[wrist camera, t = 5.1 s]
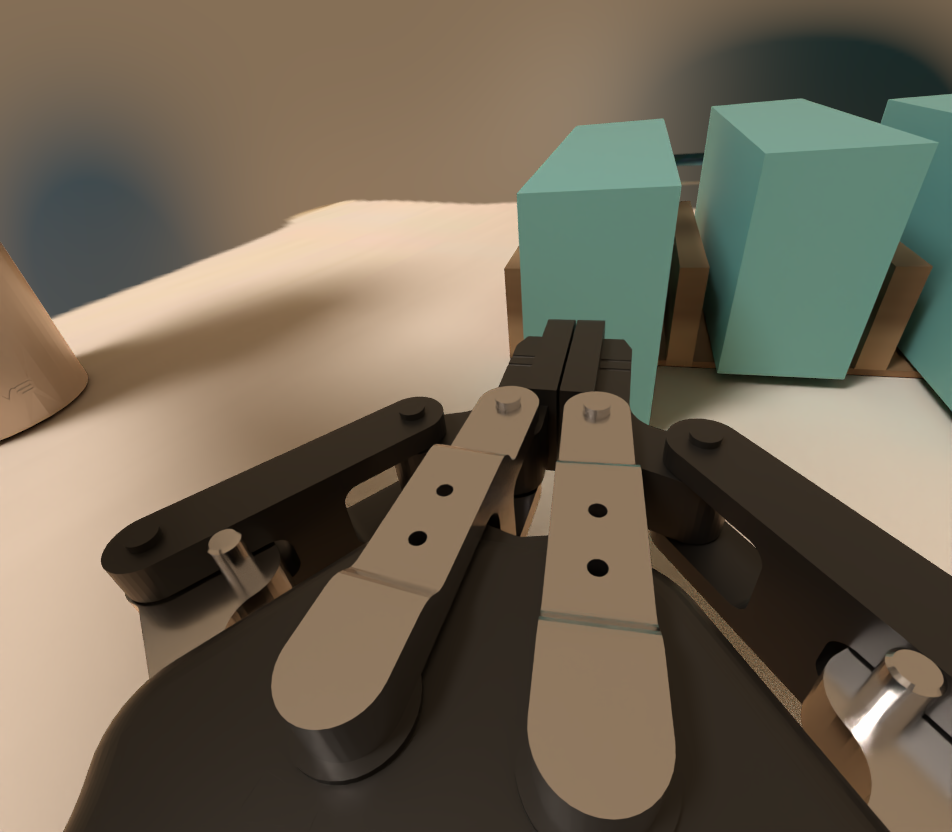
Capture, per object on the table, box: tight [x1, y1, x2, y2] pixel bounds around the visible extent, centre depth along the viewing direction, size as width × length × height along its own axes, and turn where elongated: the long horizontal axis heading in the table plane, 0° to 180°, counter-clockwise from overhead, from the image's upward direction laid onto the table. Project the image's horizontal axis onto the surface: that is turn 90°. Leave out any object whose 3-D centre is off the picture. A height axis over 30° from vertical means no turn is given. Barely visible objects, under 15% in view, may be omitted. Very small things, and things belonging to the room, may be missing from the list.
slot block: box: [504, 201, 933, 378], centre depth 26 cm, size 12×25×5 cm, turn 74°
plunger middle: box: [695, 99, 939, 379], centre depth 26 cm, size 18×5×9 cm, turn 164°
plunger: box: [517, 119, 681, 425], centre depth 25 cm, size 18×5×9 cm, turn 164°
